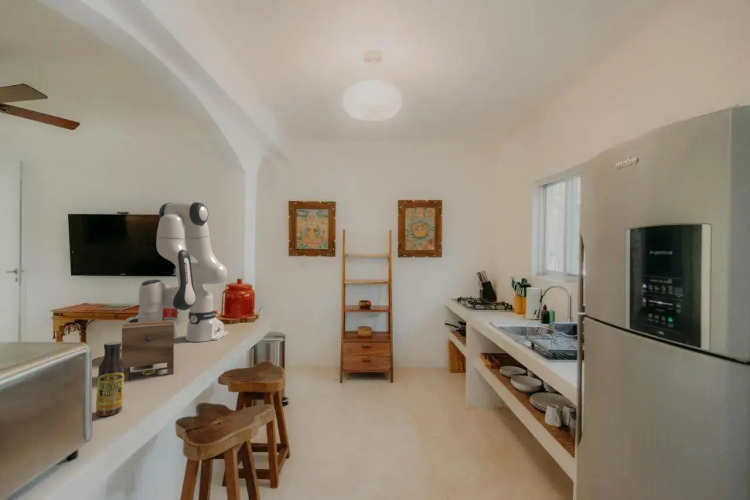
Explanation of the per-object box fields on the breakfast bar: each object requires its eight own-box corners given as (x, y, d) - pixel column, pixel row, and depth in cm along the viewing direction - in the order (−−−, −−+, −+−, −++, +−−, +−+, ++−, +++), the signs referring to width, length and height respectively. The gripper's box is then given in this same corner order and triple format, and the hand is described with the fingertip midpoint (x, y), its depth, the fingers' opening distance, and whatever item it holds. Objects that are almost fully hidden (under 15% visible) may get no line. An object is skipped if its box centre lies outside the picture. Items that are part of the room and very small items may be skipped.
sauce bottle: (95, 419, 102) (96, 347, 101) (96, 411, 107) (96, 342, 106) (124, 413, 105) (125, 343, 105) (123, 405, 110) (124, 339, 110)
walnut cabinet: (124, 372, 139) (124, 323, 139) (172, 366, 147) (173, 319, 147) (121, 382, 129) (121, 329, 129) (173, 374, 137) (173, 324, 137)
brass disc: (148, 372, 141) (148, 368, 141) (157, 372, 140) (157, 369, 140) (139, 375, 137) (139, 372, 137) (149, 376, 136) (149, 373, 136)
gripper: (178, 315, 166) (177, 346, 166) (122, 319, 155) (122, 352, 155) (178, 317, 160) (178, 349, 160) (121, 321, 150) (120, 356, 150)
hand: (150, 351), depth 158 cm, fingers closed on scraper, 2 cm apart
